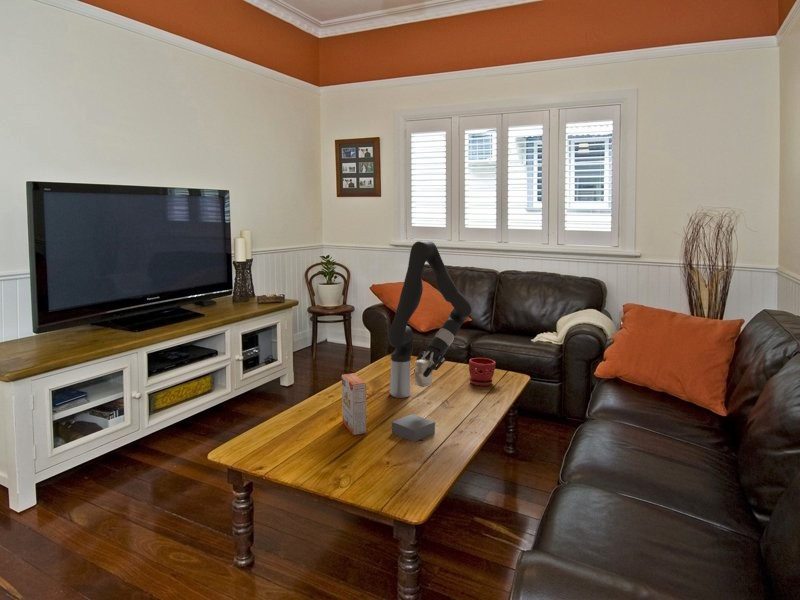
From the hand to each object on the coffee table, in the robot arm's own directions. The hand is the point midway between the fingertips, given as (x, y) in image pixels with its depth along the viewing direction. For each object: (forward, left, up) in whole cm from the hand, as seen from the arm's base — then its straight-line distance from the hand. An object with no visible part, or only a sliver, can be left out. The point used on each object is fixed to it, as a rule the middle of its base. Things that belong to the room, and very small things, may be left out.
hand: (420, 374), depth 223 cm
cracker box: (-10, -26, -20) cm, 35 cm away
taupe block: (0, +2, -5) cm, 5 cm away
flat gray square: (+8, -10, -21) cm, 24 cm away
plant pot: (-19, +58, -20) cm, 65 cm away
